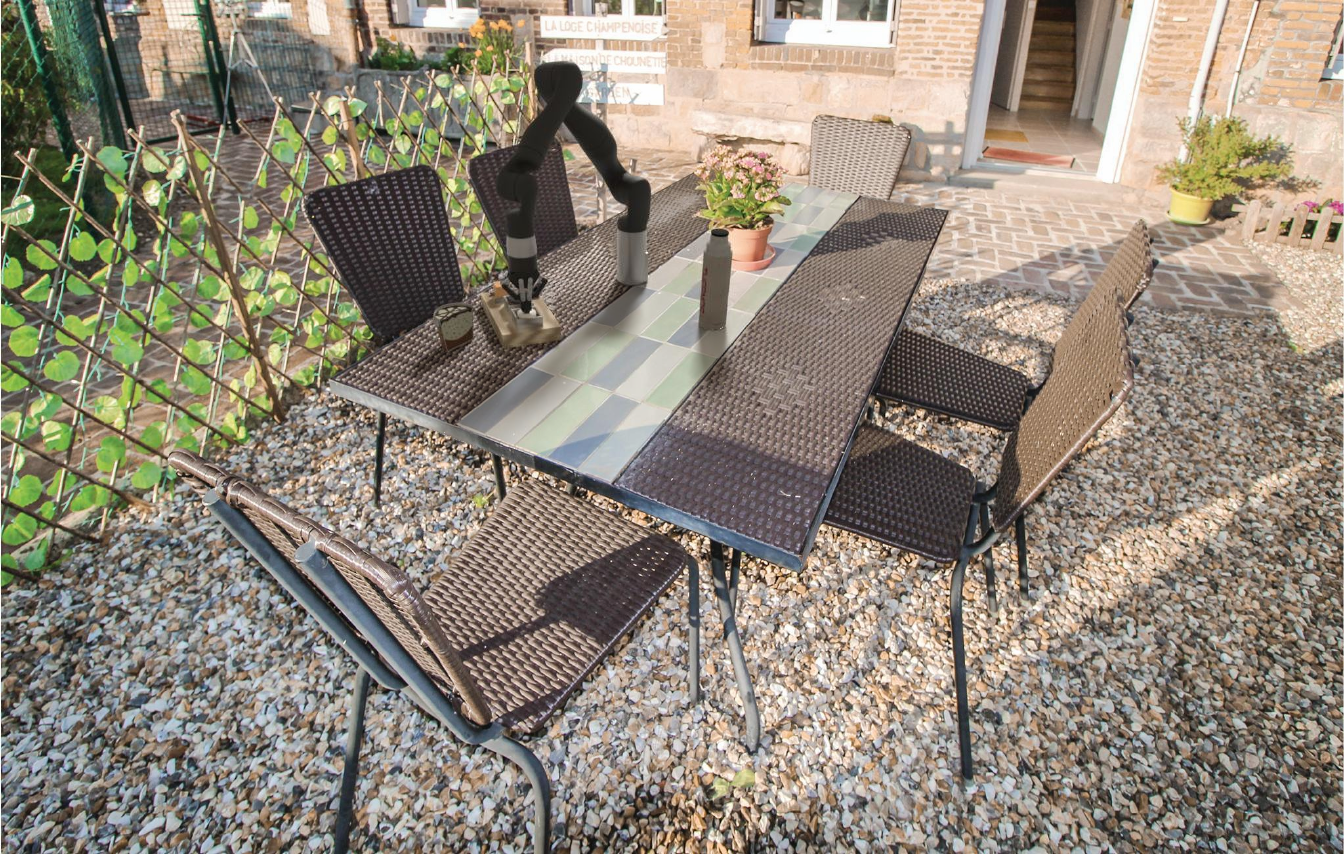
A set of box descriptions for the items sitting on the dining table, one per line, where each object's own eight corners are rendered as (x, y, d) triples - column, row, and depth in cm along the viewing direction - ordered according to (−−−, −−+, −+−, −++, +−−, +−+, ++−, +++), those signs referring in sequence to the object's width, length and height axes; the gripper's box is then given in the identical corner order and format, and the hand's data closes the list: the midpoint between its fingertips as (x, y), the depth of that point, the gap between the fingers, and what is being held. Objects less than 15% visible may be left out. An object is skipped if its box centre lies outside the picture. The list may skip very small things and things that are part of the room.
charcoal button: (524, 295, 211) (524, 289, 210) (529, 302, 207) (529, 296, 206) (507, 297, 209) (507, 291, 208) (511, 304, 205) (511, 298, 204)
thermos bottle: (700, 330, 212) (707, 236, 196) (697, 318, 219) (703, 225, 203) (727, 330, 213) (736, 236, 197) (723, 318, 220) (732, 226, 204)
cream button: (533, 313, 205) (533, 307, 204) (538, 320, 201) (538, 314, 200) (515, 315, 203) (515, 309, 202) (520, 323, 199) (519, 317, 198)
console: (534, 298, 225) (533, 277, 221) (561, 339, 204) (560, 316, 200) (481, 305, 219) (479, 283, 215) (503, 348, 198) (501, 325, 194)
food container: (462, 330, 206) (458, 297, 200) (477, 337, 203) (474, 304, 197) (427, 347, 197) (421, 313, 192) (442, 354, 195) (437, 320, 189)
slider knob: (504, 293, 217) (503, 280, 215) (507, 299, 214) (506, 286, 212) (494, 294, 216) (493, 282, 214) (497, 300, 213) (496, 287, 211)
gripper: (543, 243, 196) (546, 303, 206) (493, 248, 192) (498, 310, 201) (550, 253, 191) (553, 314, 200) (499, 259, 186) (505, 321, 196)
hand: (526, 312), depth 201 cm, fingers closed
